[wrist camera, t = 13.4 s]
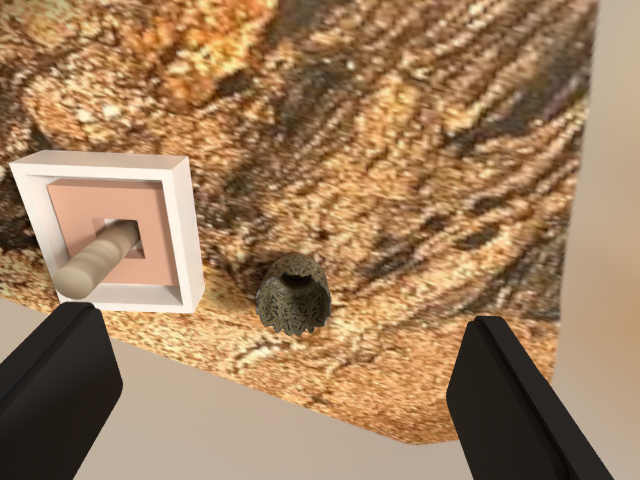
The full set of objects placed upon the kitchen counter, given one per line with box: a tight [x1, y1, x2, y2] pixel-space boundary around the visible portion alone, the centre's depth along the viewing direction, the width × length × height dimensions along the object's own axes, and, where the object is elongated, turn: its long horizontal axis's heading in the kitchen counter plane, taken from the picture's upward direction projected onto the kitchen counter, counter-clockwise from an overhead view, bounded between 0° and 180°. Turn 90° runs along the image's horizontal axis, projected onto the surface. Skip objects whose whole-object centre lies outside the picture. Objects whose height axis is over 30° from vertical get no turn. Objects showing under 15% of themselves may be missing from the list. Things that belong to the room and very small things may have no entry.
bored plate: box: [47, 178, 180, 286], centre depth 37 cm, size 11×11×2 cm
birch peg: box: [52, 219, 141, 300], centre depth 34 cm, size 3×3×10 cm
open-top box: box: [9, 150, 205, 313], centre depth 37 cm, size 16×14×4 cm
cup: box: [255, 252, 331, 336], centre depth 38 cm, size 8×7×8 cm
